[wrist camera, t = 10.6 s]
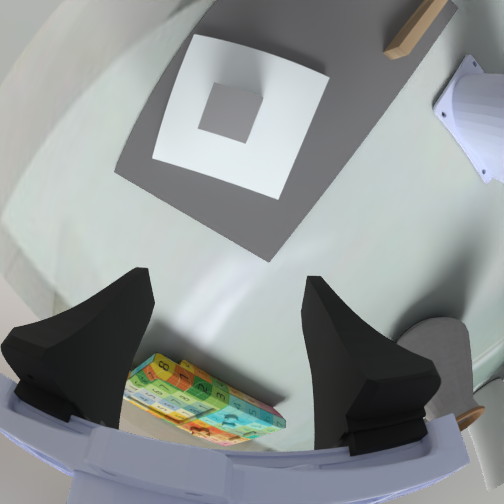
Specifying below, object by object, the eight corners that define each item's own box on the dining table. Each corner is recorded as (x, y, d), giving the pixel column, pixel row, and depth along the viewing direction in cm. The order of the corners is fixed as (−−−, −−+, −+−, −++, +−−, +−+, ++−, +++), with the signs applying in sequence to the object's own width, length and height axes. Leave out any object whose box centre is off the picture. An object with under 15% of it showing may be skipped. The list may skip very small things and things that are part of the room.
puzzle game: (227, 450, 34) (109, 396, 27) (229, 426, 38) (120, 369, 32) (286, 433, 30) (150, 367, 23) (284, 405, 34) (162, 334, 27)
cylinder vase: (502, 384, 38) (533, 457, 16) (464, 413, 42) (488, 488, 20) (500, 370, 34) (538, 457, 12) (456, 405, 39) (485, 494, 17)
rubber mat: (455, 8, 10) (458, 7, 9) (268, 259, 22) (268, 262, 22) (319, -86, 6) (320, -88, 6) (116, 170, 19) (113, 172, 18)
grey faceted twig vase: (434, 288, 23) (505, 402, 10) (468, 324, 26) (517, 411, 13) (304, 396, 32) (312, 499, 19) (356, 411, 35) (372, 494, 22)
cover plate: (325, 79, 15) (348, 68, 10) (277, 194, 19) (282, 222, 15) (198, 38, 14) (176, 15, 9) (158, 155, 18) (126, 171, 13)
